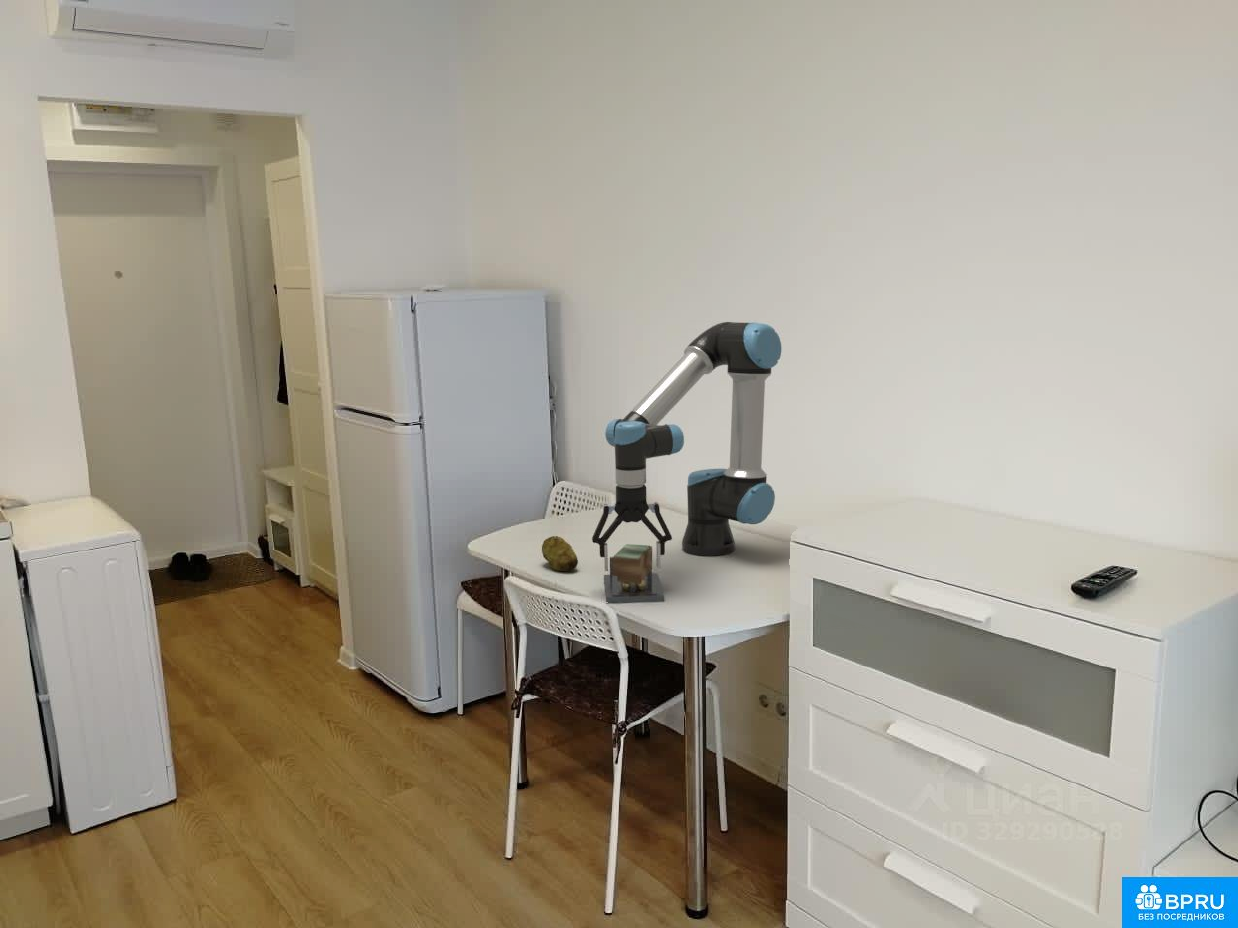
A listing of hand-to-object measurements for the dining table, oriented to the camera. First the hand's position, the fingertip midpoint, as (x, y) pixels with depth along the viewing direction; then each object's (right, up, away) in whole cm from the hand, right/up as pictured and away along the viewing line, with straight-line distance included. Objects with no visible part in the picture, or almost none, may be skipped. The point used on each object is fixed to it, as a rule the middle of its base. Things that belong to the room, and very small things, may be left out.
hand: (632, 568), depth 244 cm
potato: (-20, -2, +21) cm, 29 cm away
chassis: (0, -6, +1) cm, 6 cm away
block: (0, -2, 0) cm, 2 cm away
